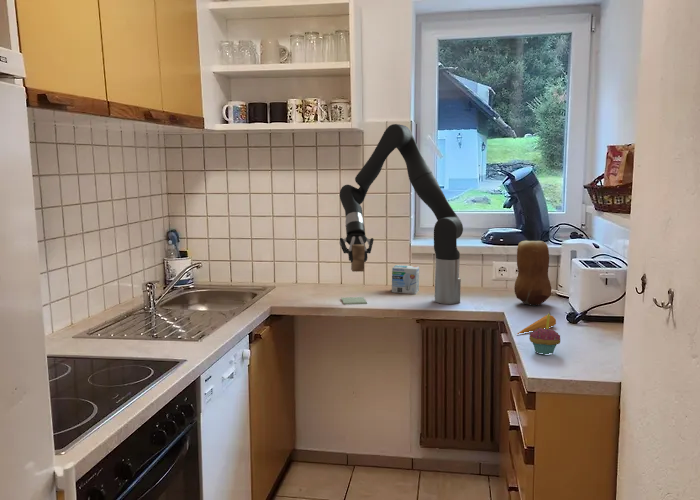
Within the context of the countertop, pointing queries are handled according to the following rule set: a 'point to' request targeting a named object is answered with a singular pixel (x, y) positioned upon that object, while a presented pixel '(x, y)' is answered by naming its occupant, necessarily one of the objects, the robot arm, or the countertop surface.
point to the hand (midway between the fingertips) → (358, 260)
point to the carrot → (539, 324)
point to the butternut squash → (532, 272)
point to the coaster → (354, 300)
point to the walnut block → (358, 258)
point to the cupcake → (544, 339)
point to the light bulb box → (405, 279)
